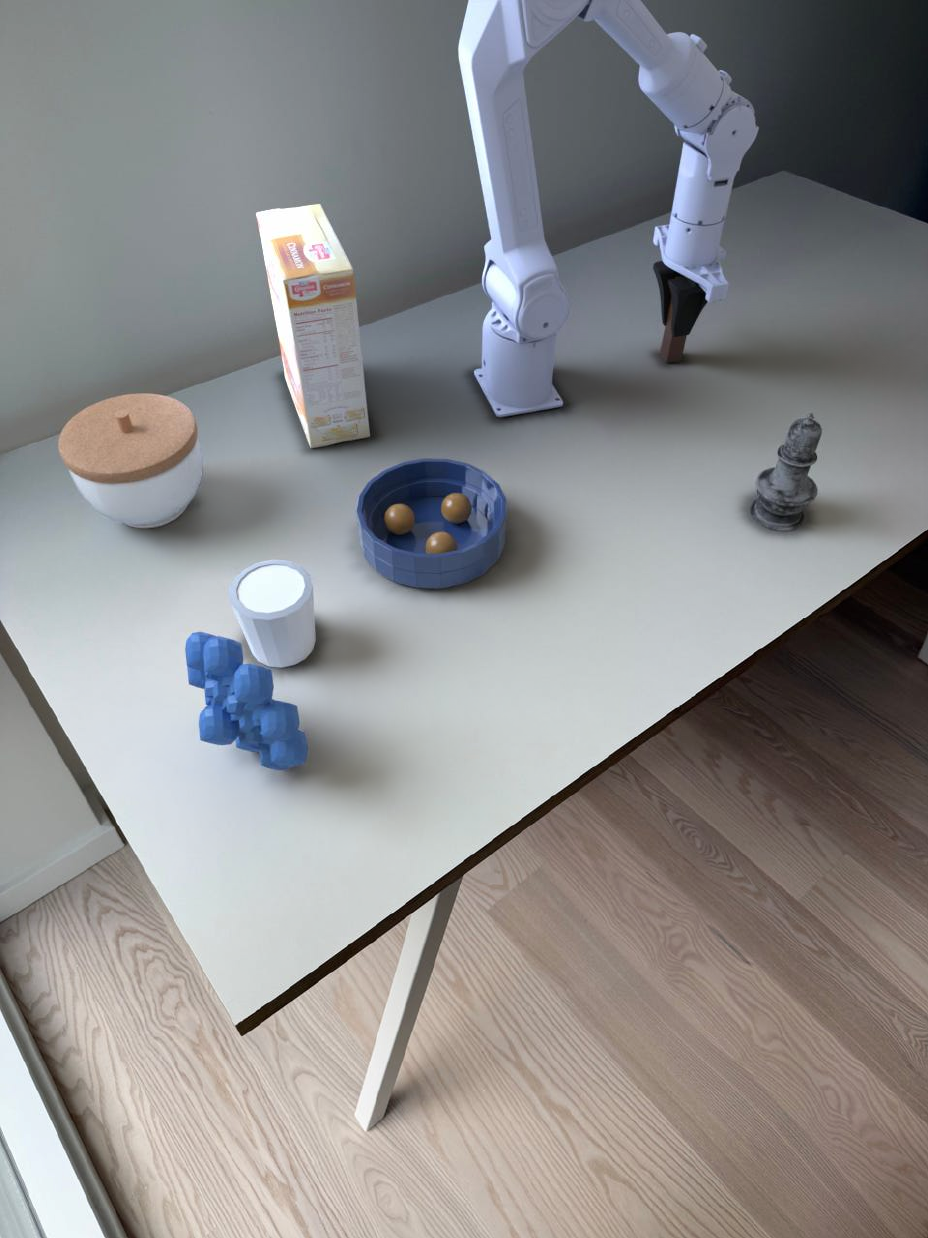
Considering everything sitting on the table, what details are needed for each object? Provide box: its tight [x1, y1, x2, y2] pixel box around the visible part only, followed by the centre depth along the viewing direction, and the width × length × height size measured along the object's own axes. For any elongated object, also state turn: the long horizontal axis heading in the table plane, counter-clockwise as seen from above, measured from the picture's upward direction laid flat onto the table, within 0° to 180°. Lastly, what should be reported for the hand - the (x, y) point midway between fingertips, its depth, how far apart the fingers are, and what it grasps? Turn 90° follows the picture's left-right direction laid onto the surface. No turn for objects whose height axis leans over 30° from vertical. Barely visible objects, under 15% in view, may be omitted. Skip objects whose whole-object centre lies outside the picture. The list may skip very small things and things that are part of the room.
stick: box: [659, 276, 688, 364], centre depth 105 cm, size 2×2×10 cm
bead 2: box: [441, 493, 472, 524], centre depth 87 cm, size 3×3×3 cm
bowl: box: [355, 458, 507, 589], centre depth 85 cm, size 14×14×4 cm
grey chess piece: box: [749, 412, 823, 532], centre depth 85 cm, size 6×6×12 cm
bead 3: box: [426, 532, 458, 554], centre depth 83 cm, size 3×3×3 cm
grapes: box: [184, 631, 309, 771], centre depth 66 cm, size 12×7×12 cm, turn 51°
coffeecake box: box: [255, 203, 371, 449], centre depth 95 cm, size 15×7×20 cm, turn 18°
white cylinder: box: [228, 558, 317, 669], centre depth 76 cm, size 7×7×7 cm
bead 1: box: [384, 504, 415, 535], centre depth 86 cm, size 3×3×3 cm
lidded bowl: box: [57, 392, 204, 529], centre depth 86 cm, size 13×13×11 cm
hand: (676, 329), depth 105 cm, fingers closed on stick, 2 cm apart
